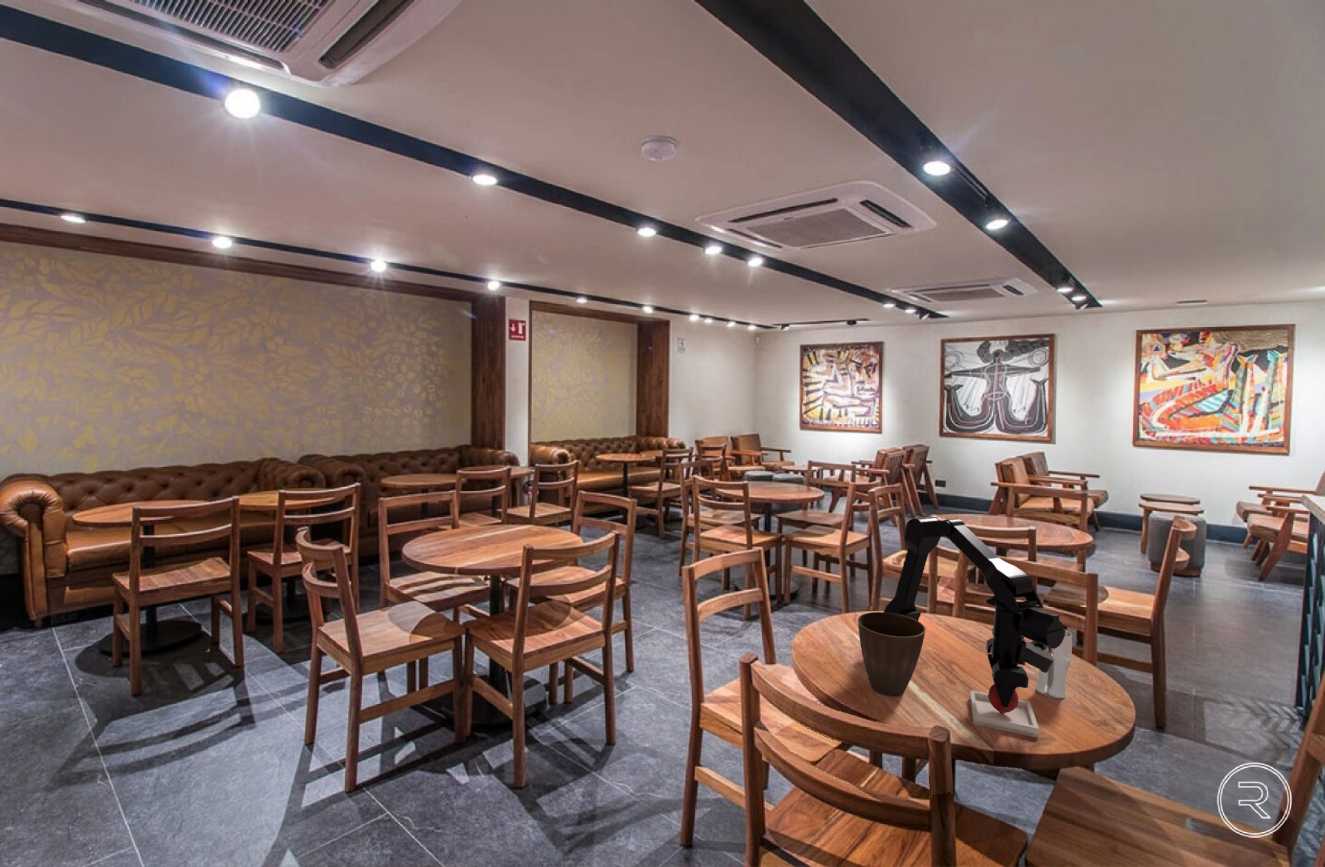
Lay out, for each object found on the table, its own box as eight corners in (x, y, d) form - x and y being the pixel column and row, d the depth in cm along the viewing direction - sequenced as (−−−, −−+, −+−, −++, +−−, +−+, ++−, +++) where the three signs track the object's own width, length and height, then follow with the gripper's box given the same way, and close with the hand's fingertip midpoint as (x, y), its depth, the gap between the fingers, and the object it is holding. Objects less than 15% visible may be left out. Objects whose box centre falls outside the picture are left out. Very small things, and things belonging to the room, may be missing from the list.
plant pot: (922, 710, 139) (927, 640, 137) (852, 697, 144) (856, 629, 142) (920, 681, 152) (924, 617, 151) (856, 670, 158) (859, 608, 156)
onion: (1016, 723, 133) (1019, 688, 132) (986, 715, 136) (988, 680, 135) (1017, 710, 138) (1020, 676, 137) (988, 702, 141) (990, 669, 140)
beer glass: (1073, 701, 145) (1078, 638, 144) (1040, 697, 146) (1045, 635, 145) (1060, 687, 152) (1065, 627, 150) (1029, 683, 153) (1033, 623, 152)
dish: (973, 723, 134) (973, 714, 134) (969, 698, 145) (970, 690, 145) (1038, 737, 129) (1038, 728, 129) (1029, 710, 140) (1029, 701, 140)
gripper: (1060, 653, 124) (1053, 729, 125) (1044, 621, 141) (1038, 688, 142) (996, 643, 128) (991, 716, 129) (988, 613, 145) (983, 677, 146)
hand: (1003, 699), depth 137 cm, fingers open, 7 cm apart
